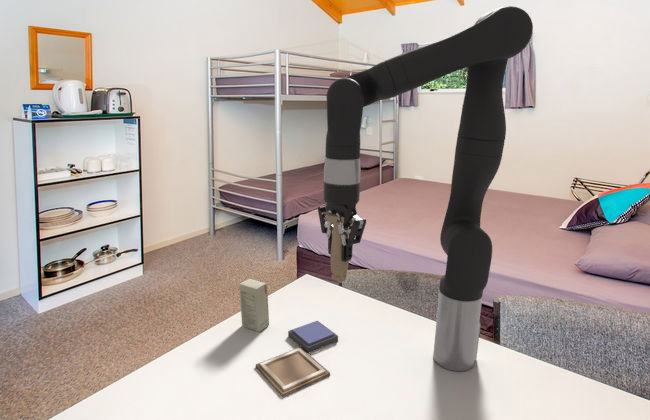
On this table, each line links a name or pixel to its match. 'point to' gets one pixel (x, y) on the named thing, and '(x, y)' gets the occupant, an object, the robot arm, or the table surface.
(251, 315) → the skincare box
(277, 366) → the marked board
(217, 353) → the table surface
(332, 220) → the handle
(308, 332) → the ink pad
